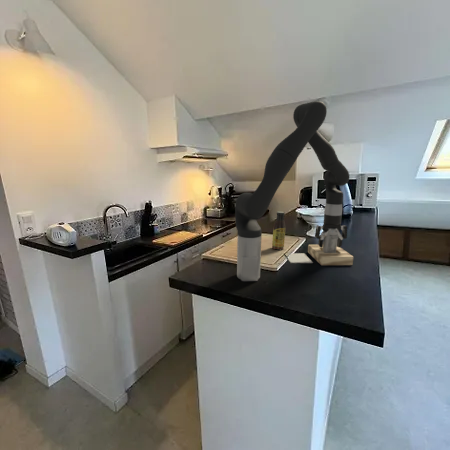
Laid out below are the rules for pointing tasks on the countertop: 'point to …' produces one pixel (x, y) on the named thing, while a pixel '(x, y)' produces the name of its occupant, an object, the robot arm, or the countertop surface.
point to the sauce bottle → (279, 232)
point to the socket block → (330, 256)
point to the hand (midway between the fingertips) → (329, 246)
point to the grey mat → (299, 258)
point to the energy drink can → (330, 241)
